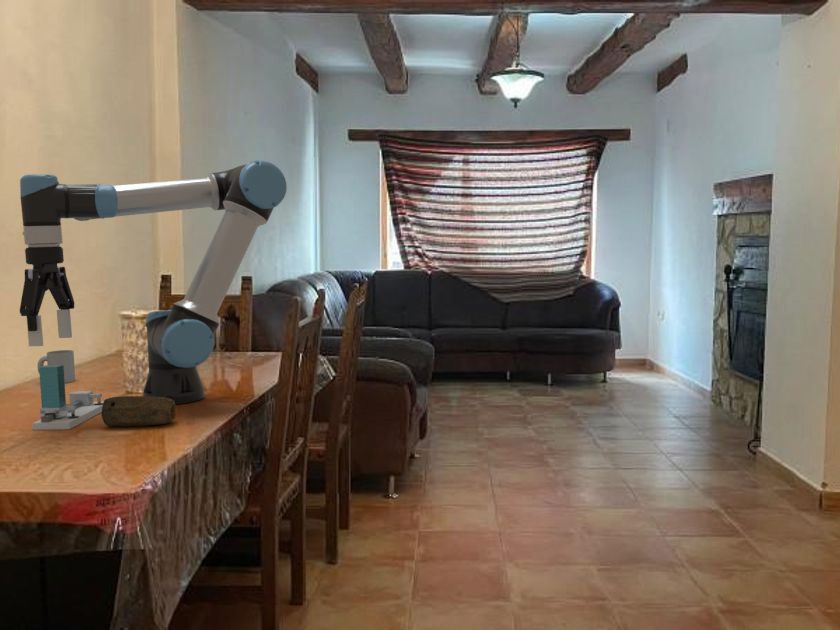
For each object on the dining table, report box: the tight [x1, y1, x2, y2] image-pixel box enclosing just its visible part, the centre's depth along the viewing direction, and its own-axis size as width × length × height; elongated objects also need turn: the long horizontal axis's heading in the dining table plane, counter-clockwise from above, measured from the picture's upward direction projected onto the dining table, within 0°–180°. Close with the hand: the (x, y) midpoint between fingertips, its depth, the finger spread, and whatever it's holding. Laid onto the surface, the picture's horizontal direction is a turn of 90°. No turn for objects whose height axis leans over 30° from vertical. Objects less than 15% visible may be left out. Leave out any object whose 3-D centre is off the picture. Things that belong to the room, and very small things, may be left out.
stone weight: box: [101, 395, 177, 428], centre depth 171 cm, size 15×7×7 cm, turn 100°
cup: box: [37, 349, 76, 384], centre depth 228 cm, size 7×10×9 cm
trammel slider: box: [38, 364, 76, 418], centre depth 172 cm, size 7×4×11 cm, turn 90°
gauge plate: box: [31, 390, 104, 431], centre depth 179 cm, size 8×22×4 cm, turn 0°
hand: (51, 341), depth 171 cm, fingers open, 13 cm apart
